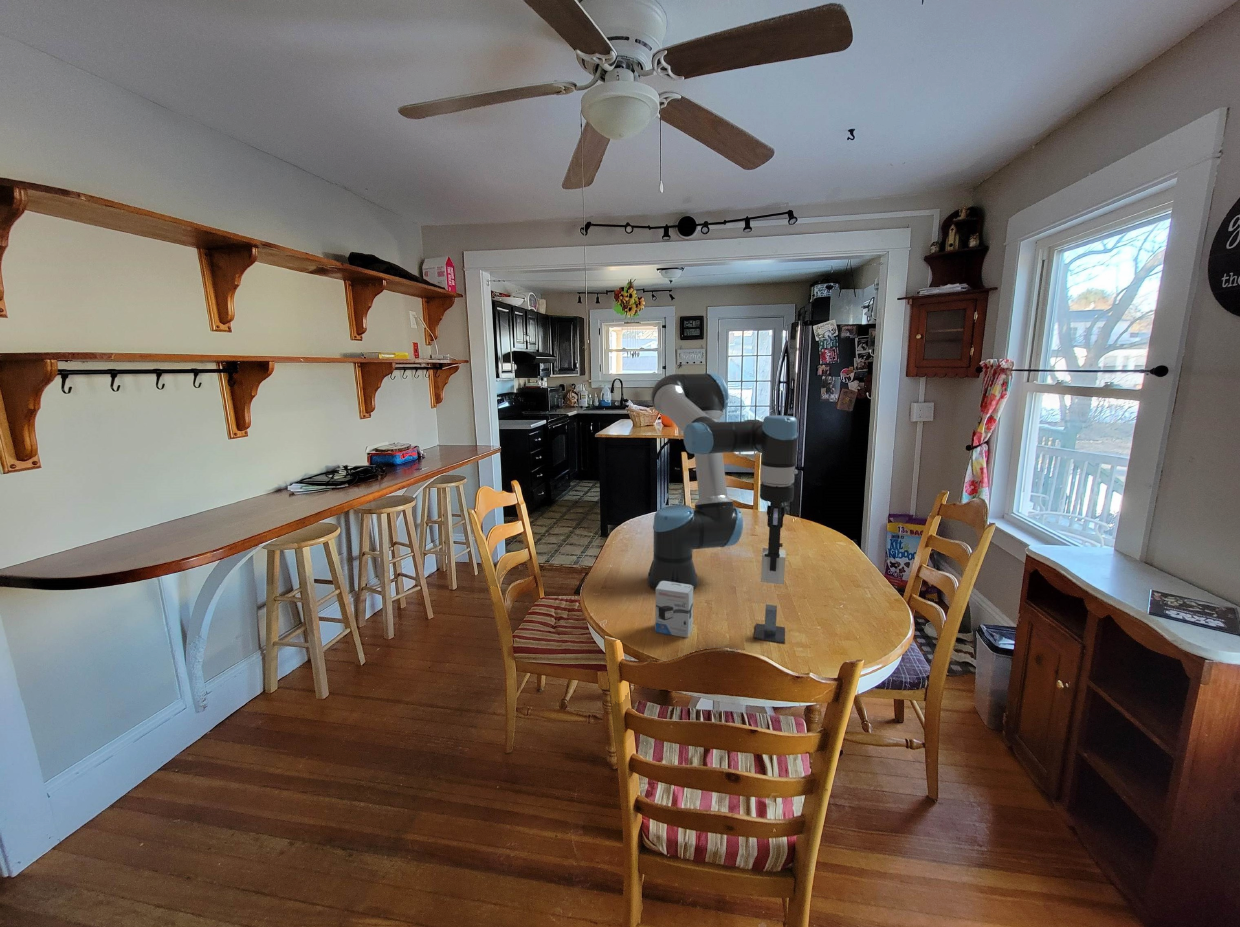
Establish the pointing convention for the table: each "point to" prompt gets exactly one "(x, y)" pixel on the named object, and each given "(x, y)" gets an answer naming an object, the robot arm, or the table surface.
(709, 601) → the table surface
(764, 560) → the white upright block
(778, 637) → the post
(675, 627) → the ink box
